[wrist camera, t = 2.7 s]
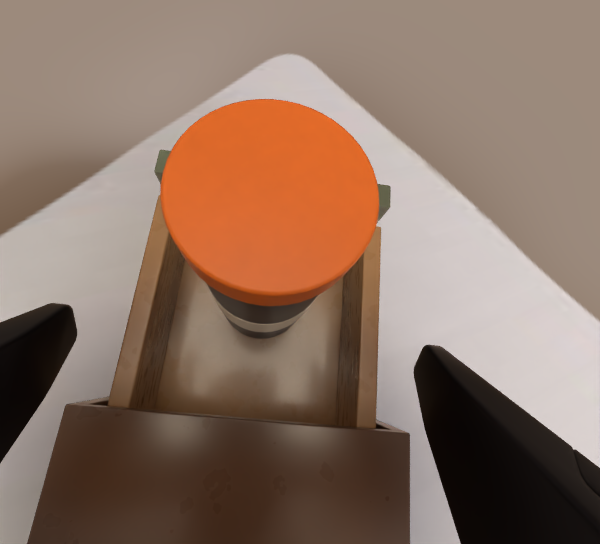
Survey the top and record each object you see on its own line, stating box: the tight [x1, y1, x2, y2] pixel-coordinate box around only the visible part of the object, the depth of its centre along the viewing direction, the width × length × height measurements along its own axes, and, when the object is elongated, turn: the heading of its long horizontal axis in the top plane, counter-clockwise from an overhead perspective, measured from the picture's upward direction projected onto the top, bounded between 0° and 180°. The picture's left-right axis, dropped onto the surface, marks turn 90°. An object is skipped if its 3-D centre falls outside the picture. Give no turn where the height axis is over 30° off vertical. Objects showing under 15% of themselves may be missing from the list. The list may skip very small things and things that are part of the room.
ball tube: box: [160, 99, 379, 339], centre depth 12 cm, size 4×4×11 cm
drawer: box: [107, 150, 390, 429], centre depth 16 cm, size 16×11×4 cm, turn 175°
